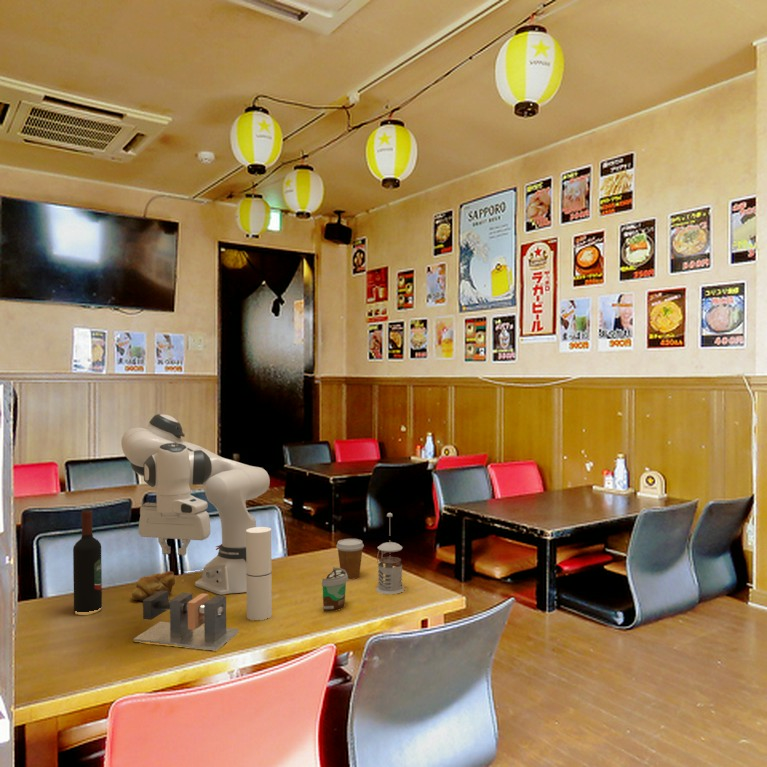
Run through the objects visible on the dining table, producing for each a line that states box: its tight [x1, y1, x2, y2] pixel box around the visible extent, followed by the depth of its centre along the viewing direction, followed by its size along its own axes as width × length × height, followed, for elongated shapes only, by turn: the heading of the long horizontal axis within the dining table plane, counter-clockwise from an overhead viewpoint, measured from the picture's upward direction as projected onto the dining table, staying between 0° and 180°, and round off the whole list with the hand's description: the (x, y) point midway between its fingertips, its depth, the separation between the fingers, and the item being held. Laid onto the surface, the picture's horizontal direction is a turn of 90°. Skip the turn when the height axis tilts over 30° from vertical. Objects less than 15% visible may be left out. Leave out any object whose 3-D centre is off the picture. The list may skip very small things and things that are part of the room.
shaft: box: [142, 590, 223, 621], centre depth 166 cm, size 21×8×5 cm, turn 76°
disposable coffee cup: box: [335, 538, 365, 580], centre depth 216 cm, size 10×10×12 cm
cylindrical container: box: [246, 526, 273, 621], centre depth 181 cm, size 7×7×25 cm
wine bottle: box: [72, 509, 103, 612], centre depth 186 cm, size 8×8×30 cm
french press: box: [375, 512, 405, 595], centre depth 203 cm, size 10×12×25 cm
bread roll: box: [131, 570, 176, 602], centre depth 198 cm, size 13×10×8 cm
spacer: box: [188, 593, 210, 630], centre depth 165 cm, size 2×7×7 cm, turn 166°
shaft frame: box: [132, 592, 240, 652], centre depth 166 cm, size 24×12×11 cm, turn 76°
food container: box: [321, 567, 349, 613], centre depth 188 cm, size 12×6×10 cm, turn 168°
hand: (174, 554), depth 170 cm, fingers open, 3 cm apart
